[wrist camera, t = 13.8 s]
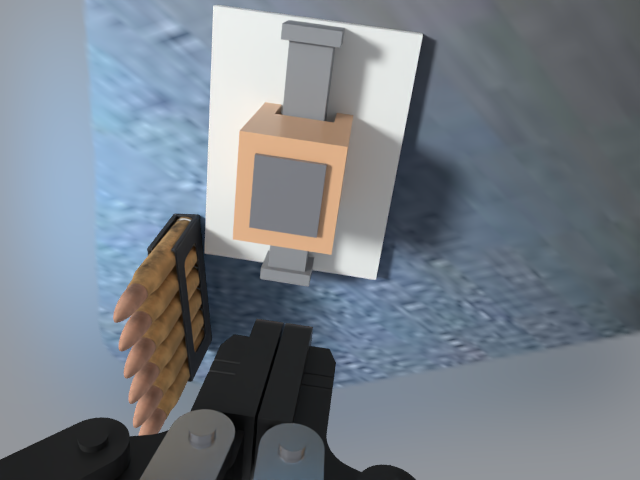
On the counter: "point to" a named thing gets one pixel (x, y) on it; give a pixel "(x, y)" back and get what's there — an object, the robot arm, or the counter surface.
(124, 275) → the counter surface
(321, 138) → the block
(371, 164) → the rail board
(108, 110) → the counter surface
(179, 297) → the ammunition clip
